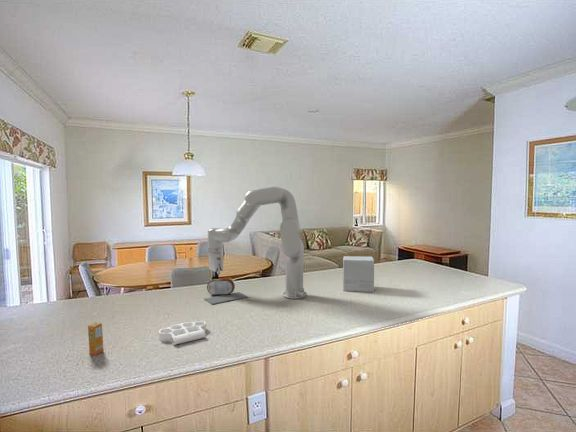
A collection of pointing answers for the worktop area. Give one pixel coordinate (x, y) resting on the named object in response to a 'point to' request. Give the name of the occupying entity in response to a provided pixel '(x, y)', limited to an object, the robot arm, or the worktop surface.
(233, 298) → the gray mat
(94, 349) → the supplement box
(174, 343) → the white egg tray
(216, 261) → the robot arm
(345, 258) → the supplement box
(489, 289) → the worktop surface
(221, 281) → the tin
